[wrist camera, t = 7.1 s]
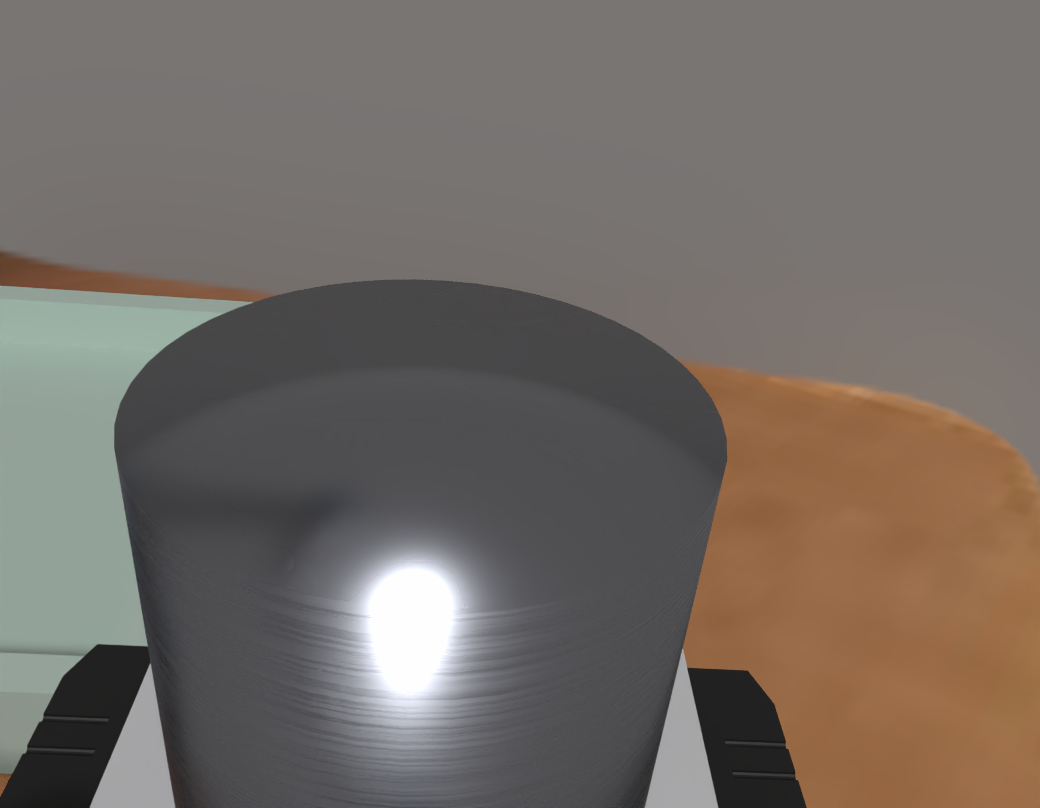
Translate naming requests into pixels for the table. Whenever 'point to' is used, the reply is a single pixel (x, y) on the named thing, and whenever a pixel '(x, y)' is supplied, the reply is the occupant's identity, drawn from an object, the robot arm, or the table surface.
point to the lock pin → (415, 548)
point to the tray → (68, 483)
